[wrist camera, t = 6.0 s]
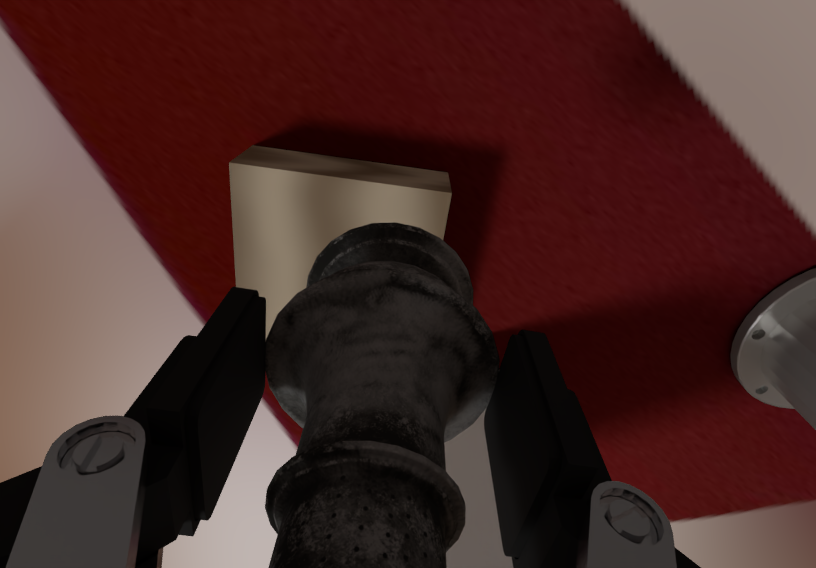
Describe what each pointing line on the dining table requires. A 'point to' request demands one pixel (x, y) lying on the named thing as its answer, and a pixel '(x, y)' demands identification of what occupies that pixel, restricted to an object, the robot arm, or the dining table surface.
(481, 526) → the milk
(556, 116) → the dining table surface
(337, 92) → the dining table surface
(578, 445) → the robot arm
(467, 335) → the black chess piece
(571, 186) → the dining table surface
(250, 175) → the beech block
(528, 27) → the dining table surface
